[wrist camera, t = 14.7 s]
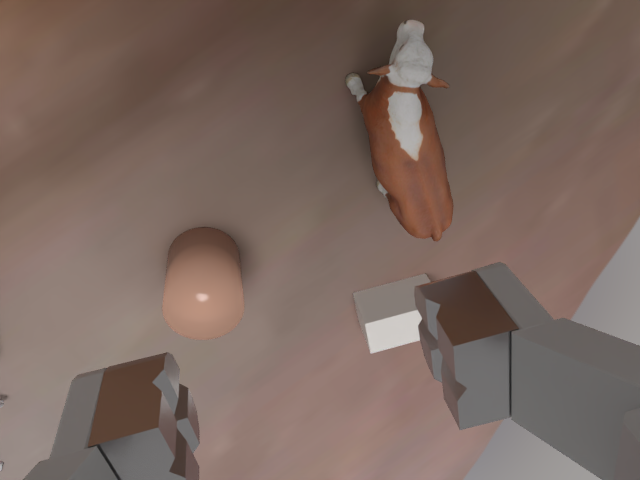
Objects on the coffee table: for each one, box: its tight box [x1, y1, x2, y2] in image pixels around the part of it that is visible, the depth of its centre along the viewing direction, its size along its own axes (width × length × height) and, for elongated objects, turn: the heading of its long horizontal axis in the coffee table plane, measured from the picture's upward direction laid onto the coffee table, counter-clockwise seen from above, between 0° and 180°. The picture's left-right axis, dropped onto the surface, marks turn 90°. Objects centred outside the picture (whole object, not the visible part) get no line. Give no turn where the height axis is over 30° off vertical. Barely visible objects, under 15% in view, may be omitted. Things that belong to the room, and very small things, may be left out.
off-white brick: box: [353, 273, 431, 353], centre depth 43 cm, size 6×3×4 cm, turn 101°
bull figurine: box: [345, 20, 453, 241], centre depth 33 cm, size 4×14×8 cm, turn 14°
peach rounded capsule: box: [162, 227, 244, 340], centre depth 37 cm, size 5×5×6 cm
